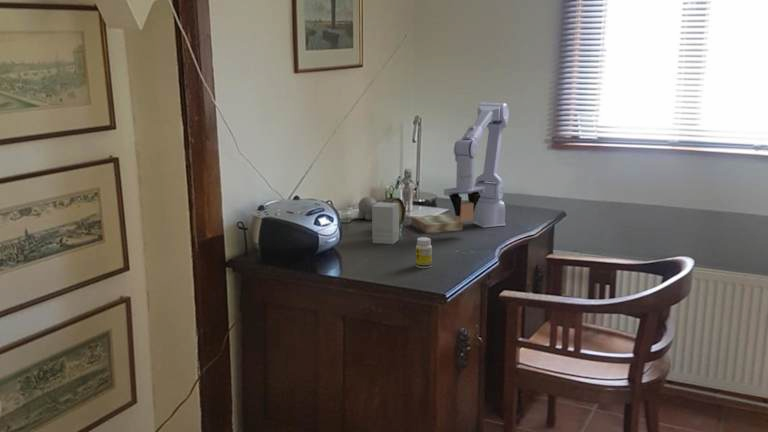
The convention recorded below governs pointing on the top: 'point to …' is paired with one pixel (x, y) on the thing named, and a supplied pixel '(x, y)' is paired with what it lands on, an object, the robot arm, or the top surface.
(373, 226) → the supplement box
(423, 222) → the plinth
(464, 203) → the block
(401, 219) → the alarm clock
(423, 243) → the supplement bottle
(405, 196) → the human figurine
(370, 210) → the chubby cartoon animal
